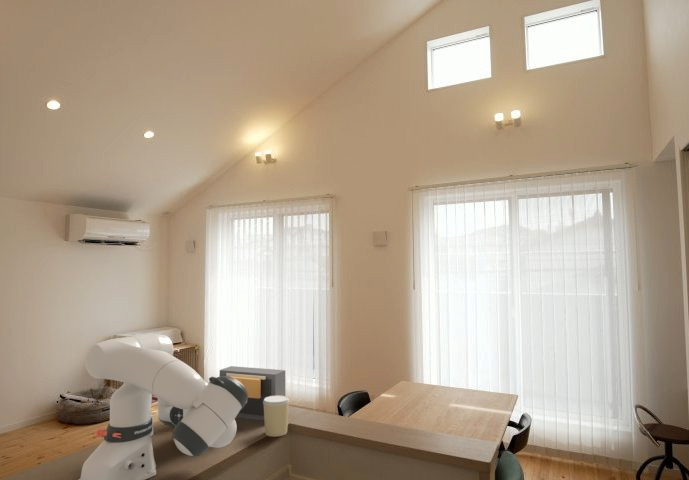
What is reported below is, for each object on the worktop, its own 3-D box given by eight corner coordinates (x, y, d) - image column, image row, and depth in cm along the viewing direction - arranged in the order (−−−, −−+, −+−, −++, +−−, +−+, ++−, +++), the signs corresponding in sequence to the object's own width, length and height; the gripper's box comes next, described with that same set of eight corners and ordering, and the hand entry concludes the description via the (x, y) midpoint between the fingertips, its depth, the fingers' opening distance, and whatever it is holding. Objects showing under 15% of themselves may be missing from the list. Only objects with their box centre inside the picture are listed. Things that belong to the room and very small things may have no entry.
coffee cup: (285, 426, 168) (285, 394, 169) (292, 435, 160) (292, 400, 161) (260, 430, 165) (260, 397, 166) (266, 439, 156) (266, 403, 157)
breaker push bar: (258, 398, 172) (258, 379, 173) (223, 394, 178) (223, 376, 179) (262, 396, 175) (262, 378, 176) (228, 393, 181) (228, 375, 181)
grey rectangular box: (274, 422, 173) (274, 375, 174) (217, 415, 182) (218, 370, 183) (285, 415, 181) (285, 370, 182) (230, 409, 190) (231, 366, 192)
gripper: (185, 409, 161) (208, 398, 174) (234, 413, 154) (255, 402, 167) (185, 390, 162) (208, 382, 175) (234, 394, 155) (255, 385, 168)
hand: (232, 392), depth 171 cm, fingers open, 8 cm apart
